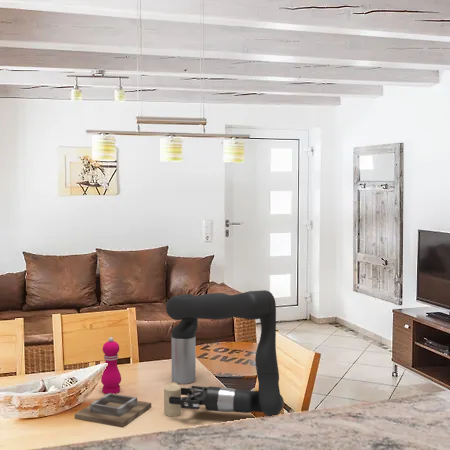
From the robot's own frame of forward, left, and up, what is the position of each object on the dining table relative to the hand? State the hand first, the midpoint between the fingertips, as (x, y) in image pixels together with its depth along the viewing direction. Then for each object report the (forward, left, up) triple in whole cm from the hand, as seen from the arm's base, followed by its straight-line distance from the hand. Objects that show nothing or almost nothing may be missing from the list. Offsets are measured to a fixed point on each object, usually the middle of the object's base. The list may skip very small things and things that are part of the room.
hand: (173, 395), depth 193 cm
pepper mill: (-10, -30, -6) cm, 32 cm away
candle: (0, 0, -6) cm, 6 cm away
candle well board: (+7, -18, -6) cm, 20 cm away
